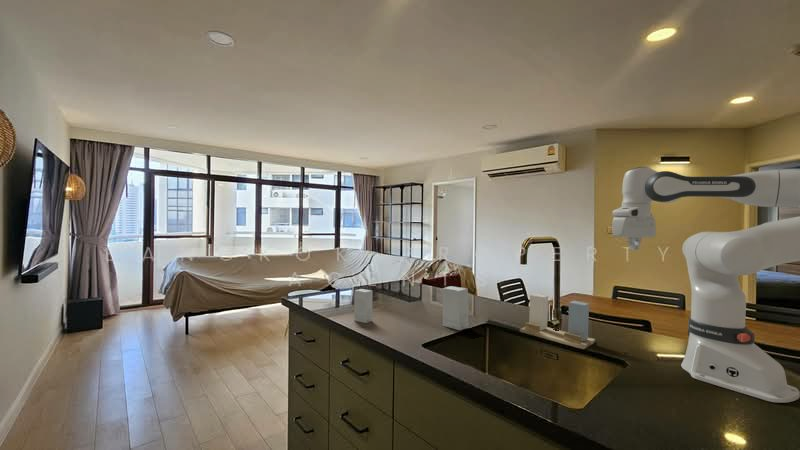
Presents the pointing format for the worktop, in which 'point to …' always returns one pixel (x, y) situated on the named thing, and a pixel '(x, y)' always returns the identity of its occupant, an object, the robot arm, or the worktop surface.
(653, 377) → the worktop surface
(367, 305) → the skincare box
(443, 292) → the skincare box
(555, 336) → the switch base
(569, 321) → the slate blue key
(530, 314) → the ivory key
